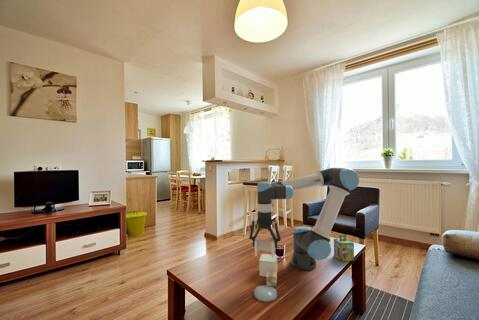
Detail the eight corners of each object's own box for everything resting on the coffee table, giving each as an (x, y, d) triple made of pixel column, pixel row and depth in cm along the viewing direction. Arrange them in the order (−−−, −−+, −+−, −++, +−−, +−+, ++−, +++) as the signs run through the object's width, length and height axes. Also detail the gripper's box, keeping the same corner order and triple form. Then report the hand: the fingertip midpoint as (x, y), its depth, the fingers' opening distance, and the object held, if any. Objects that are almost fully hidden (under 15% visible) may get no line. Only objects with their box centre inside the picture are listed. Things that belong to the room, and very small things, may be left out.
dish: (277, 289, 108) (277, 286, 108) (276, 303, 97) (275, 300, 97) (256, 286, 111) (256, 284, 111) (252, 299, 100) (252, 297, 100)
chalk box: (341, 262, 135) (340, 238, 135) (333, 255, 144) (332, 233, 144) (354, 261, 136) (354, 237, 136) (346, 254, 145) (345, 233, 145)
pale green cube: (277, 269, 127) (276, 255, 127) (275, 277, 118) (275, 262, 118) (262, 268, 130) (261, 253, 130) (259, 275, 121) (259, 260, 121)
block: (277, 281, 115) (276, 272, 115) (276, 286, 110) (275, 277, 110) (267, 280, 116) (267, 271, 116) (266, 285, 111) (266, 276, 111)
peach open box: (274, 250, 117) (274, 235, 117) (273, 258, 108) (272, 241, 108) (257, 249, 119) (257, 233, 119) (255, 256, 110) (254, 239, 110)
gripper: (285, 210, 115) (286, 252, 115) (245, 208, 120) (246, 248, 120) (285, 213, 108) (285, 258, 107) (243, 211, 113) (243, 254, 113)
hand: (264, 253), depth 114 cm, fingers closed on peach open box, 9 cm apart
